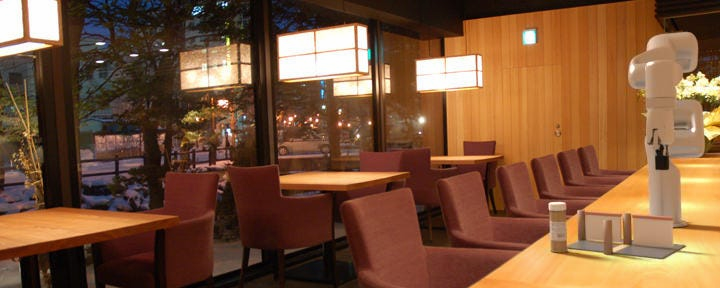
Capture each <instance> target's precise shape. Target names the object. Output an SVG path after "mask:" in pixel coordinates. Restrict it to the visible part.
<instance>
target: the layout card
mask: <svg viewBox="0 0 720 288" xmlns="http://www.w3.org/2000/svg"><path fill="white" fill-rule="evenodd" d="M684 246H685V247H686V244H679V243H673V247H665V246H655V245H645V244H634V240H633V239H632V244H631V245H625V244H623V238H622V242H614V241H613V254H612V255H622V256H631V257H639V258H649V259H657V260H663V259H665V258H666V257H668V256H670V255H672V254H674V253H676V252H678V251H679V250H682V248H684ZM568 249H570V250H577V251H578V250H579V251H586V252H587V251H588V252H594V253H603V254H604V240H594V239H586V240H581V241H578V240H577V241H575V242H574V243H573V242H572V243H570V244H567V250H568Z"/></svg>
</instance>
